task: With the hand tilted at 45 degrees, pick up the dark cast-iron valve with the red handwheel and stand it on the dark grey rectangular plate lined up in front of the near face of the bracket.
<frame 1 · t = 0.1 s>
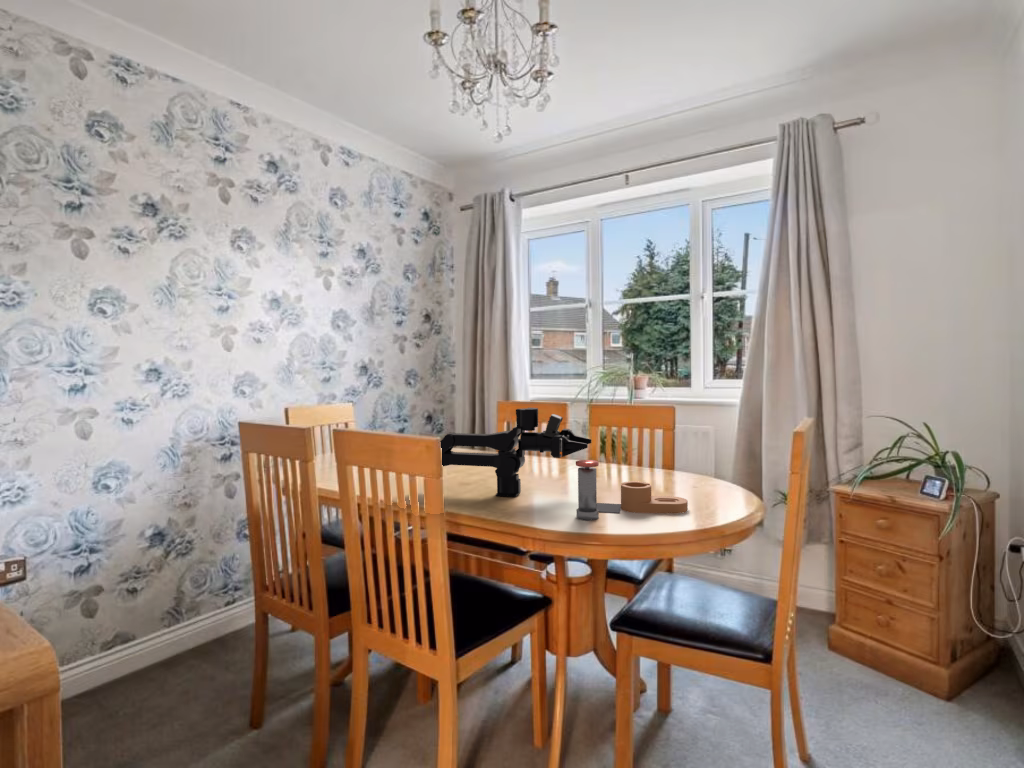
hand: (589, 443, 168), 17 cm above the table, tool horizontal, fingers open, 9 cm apart
dark grey rectangular plate: (607, 508, 158), on the table
valve: (587, 517, 149), on the table
bracket: (653, 510, 157), on the table
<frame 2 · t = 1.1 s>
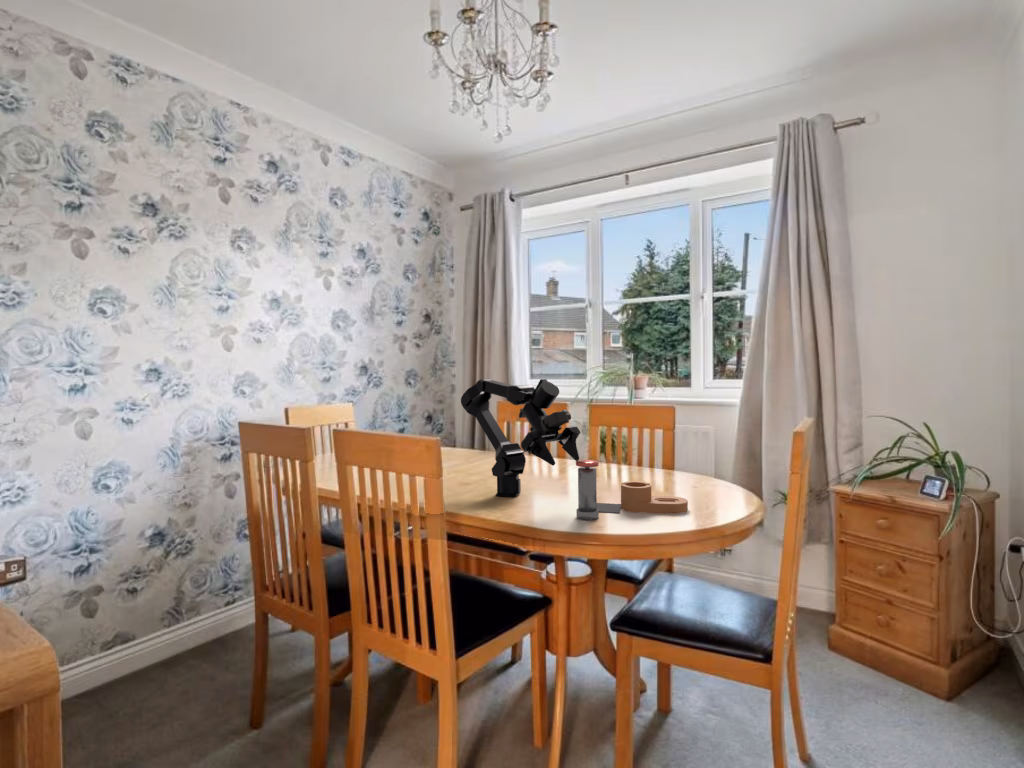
hand: (566, 462, 155), 14 cm above the table, tool tilted 45°, fingers open, 9 cm apart
nothing on the table moved.
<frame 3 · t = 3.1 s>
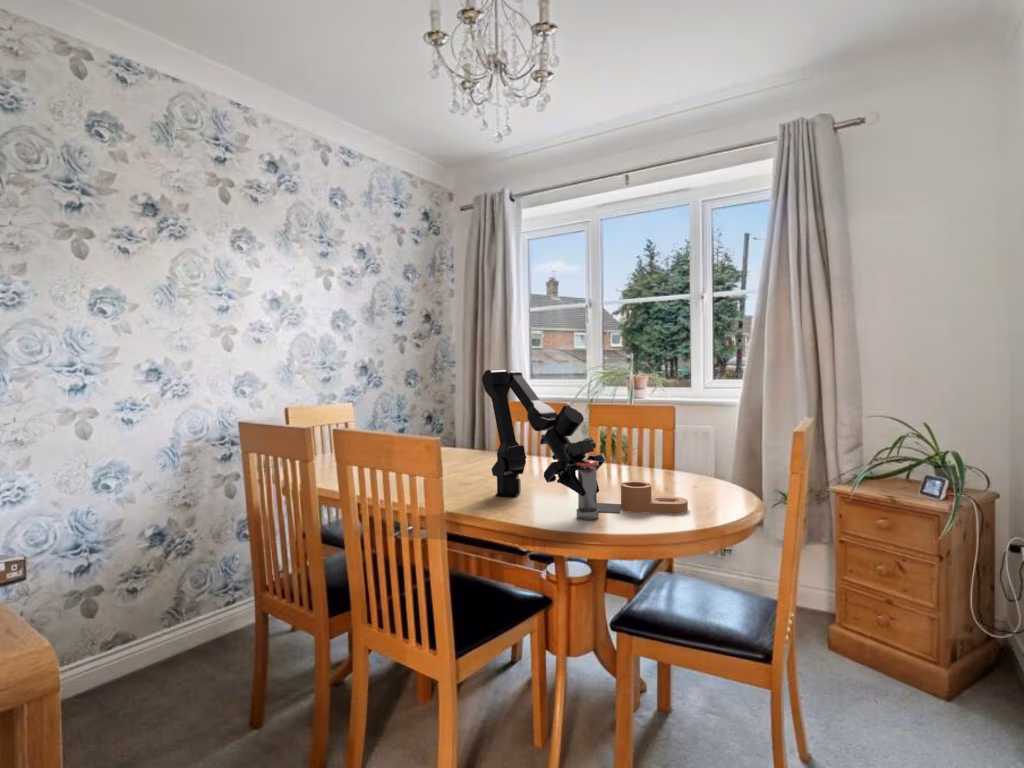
hand: (591, 493, 148), 7 cm above the table, tool tilted 45°, fingers closed on valve, 5 cm apart
valve: (587, 517, 149), on the table, touching gripper
everything else where it was.
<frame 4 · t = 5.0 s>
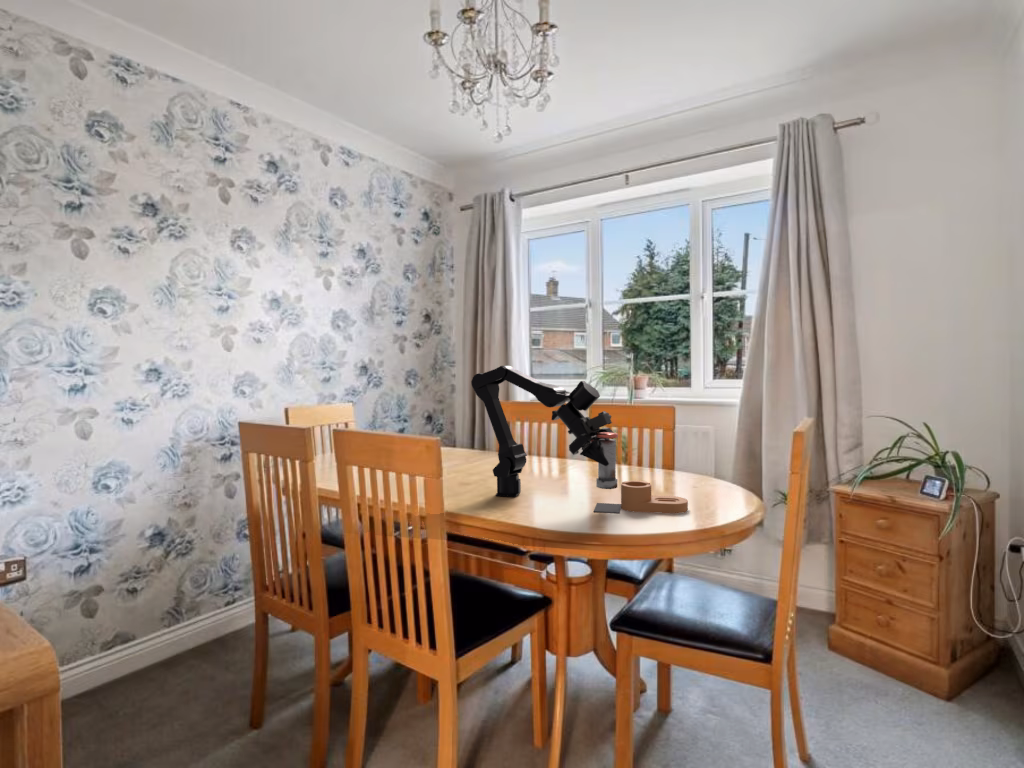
hand: (611, 463, 156), 13 cm above the table, tool tilted 45°, fingers closed on valve, 5 cm apart
valve: (606, 486, 157), point 6 cm above the table, touching gripper
everything else where it was.
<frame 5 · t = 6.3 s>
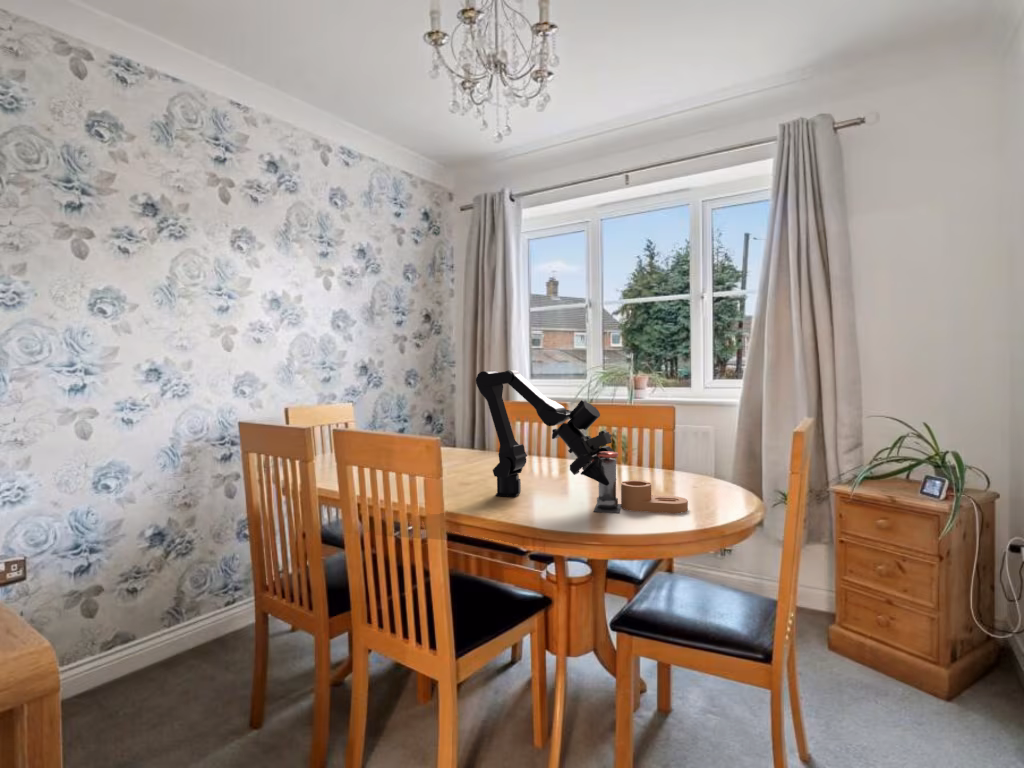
hand: (611, 482, 157), 7 cm above the table, tool tilted 45°, fingers closed on valve, 5 cm apart
valve: (607, 505, 158), point 1 cm above the table, touching gripper
when the fingers open (7 cm above the table, at t = 6.4 s): valve stays where it is, resting on dark grey rectangular plate.
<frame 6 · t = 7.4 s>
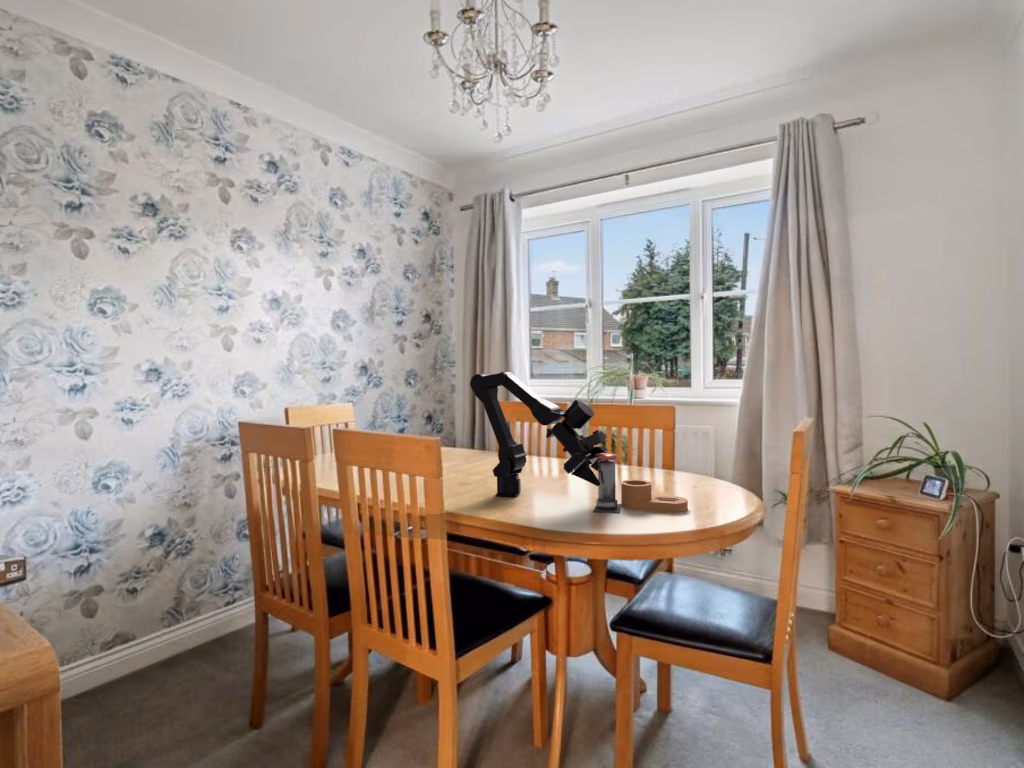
hand: (605, 481, 158), 7 cm above the table, tool tilted 45°, fingers open, 9 cm apart
valve: (606, 507, 158), resting on dark grey rectangular plate
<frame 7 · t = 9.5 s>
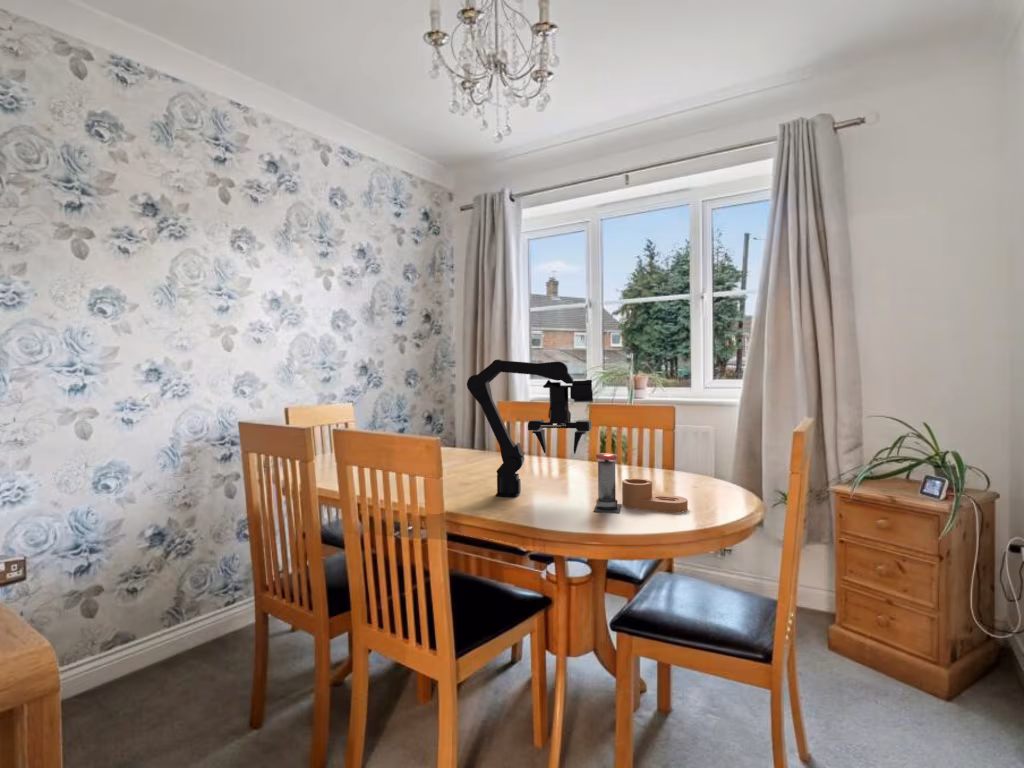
hand: (559, 453, 173), 13 cm above the table, tool pointing down, fingers open, 9 cm apart
bracket: (654, 507, 159), on the table
everything else where it was.
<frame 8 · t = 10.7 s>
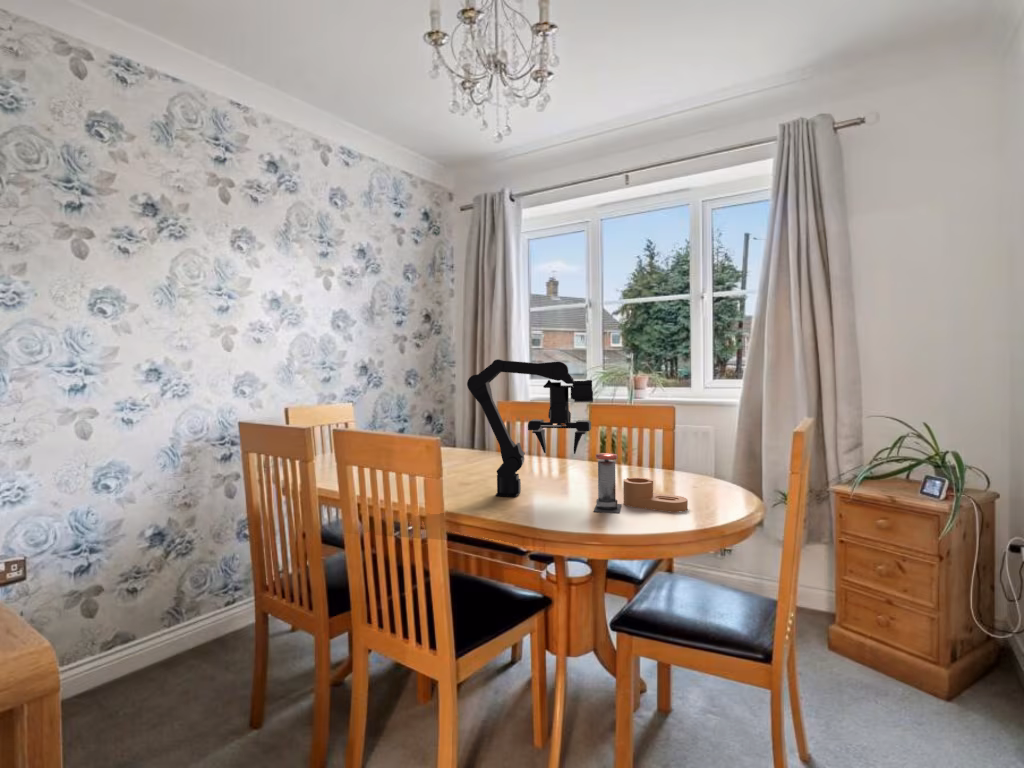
hand: (559, 453, 173), 13 cm above the table, tool pointing down, fingers open, 9 cm apart
at the end: valve inside the target area (0.3 cm from its centre), resting on dark grey rectangular plate; valve tilted 0°; bracket moved 3.7 cm from its start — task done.
